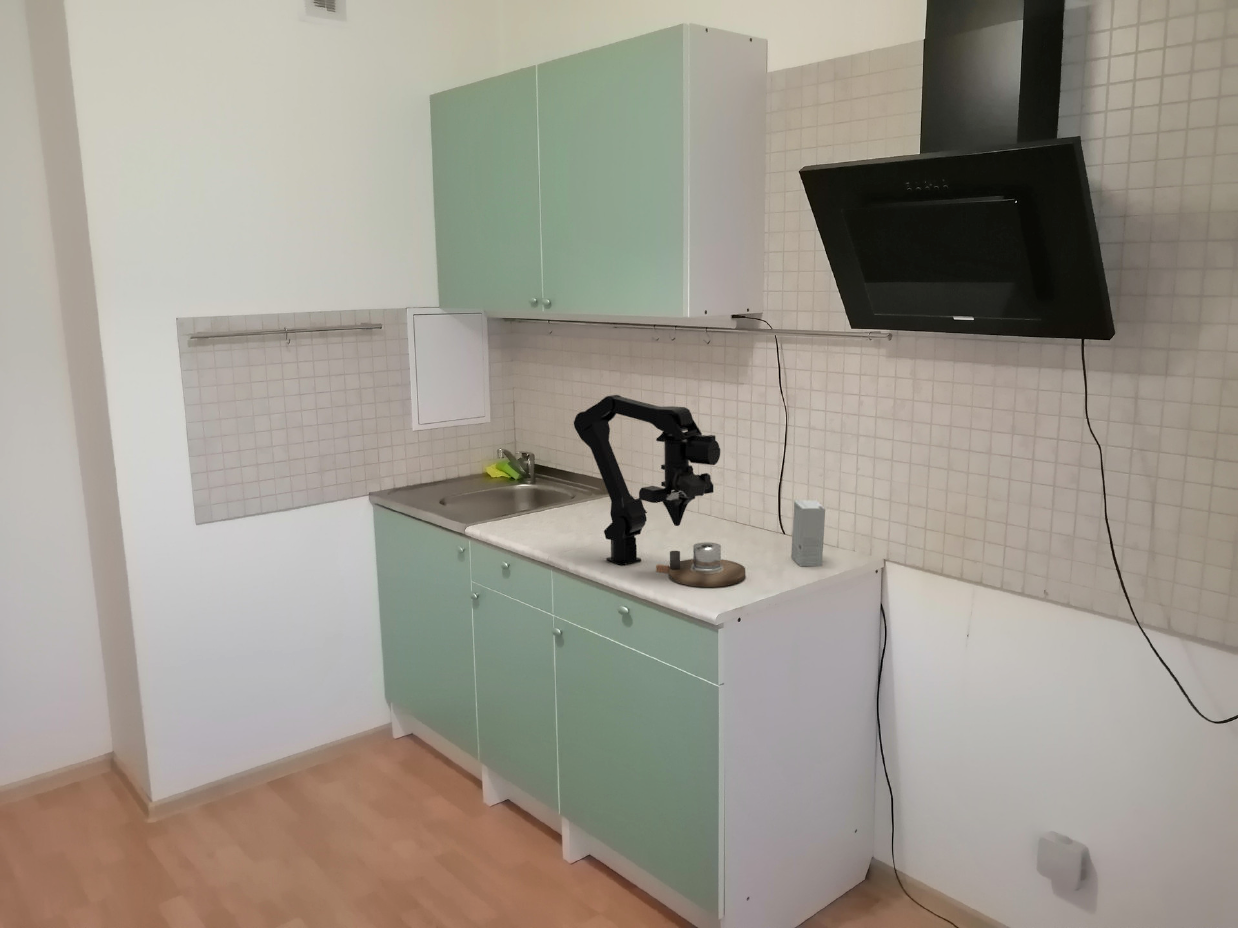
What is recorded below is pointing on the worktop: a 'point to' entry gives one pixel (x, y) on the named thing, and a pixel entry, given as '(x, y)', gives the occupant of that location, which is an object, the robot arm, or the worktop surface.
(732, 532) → the worktop surface
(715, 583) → the turntable
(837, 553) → the worktop surface
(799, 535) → the skincare box
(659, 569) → the pointer
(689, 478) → the robot arm
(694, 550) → the cap
